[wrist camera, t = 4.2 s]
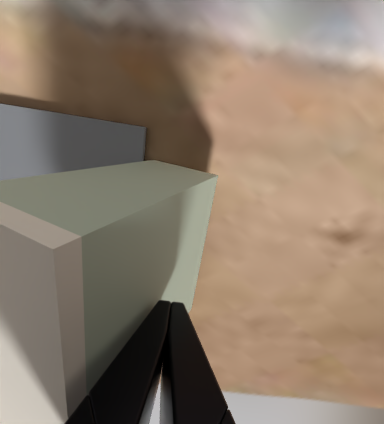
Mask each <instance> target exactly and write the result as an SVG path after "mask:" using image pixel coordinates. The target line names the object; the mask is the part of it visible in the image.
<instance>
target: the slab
mask: <svg viewBox="0 0 384 424" xmlns="http://www.w3.org/2000/svg"><path fill="white" fill-rule="evenodd" d="M217 178H218V175H215V174H211V173H206V172H202V171H198V170H194V169H190V168H186V167H182V166H177V165H173V164H169V163H165V162H161V161H157V160H148V161H141V162H133V163H126V164H119V165H111V166H104V167H97V168H89V169H82V170H75V171H67V172H60V173H53V174H45V175H38V176H31V177H23V178H16V179H9V180H1V181H0V424H64V423H65V422H66V421H67V420H68V418H69V417H70V416H71V415H72V413H73V412H74V411H75V409H76V408H77V407H78V405H79V404H80V403H81V402H82V400H83V399H84V398H85V396H86V395H89V391H90V390H91V389H92V387H93V386H94V385H95V383H96V382H97V381H98V379H99V378H100V377H101V376H102V374H103V373H104V372H105V370H106V369H107V368H108V366H109V365H110V364H111V362H112V361H113V360H114V358H115V357H116V356H117V355H118V353H119V352H120V351H121V349H122V348H123V347H124V345H125V344H126V343H127V341H128V340H129V339H130V337H131V336H132V335H133V334H134V332H135V331H136V330H137V328H138V327H139V326H140V324H141V323H142V322H143V320H144V319H145V318H146V316H147V315H148V314H149V312H150V311H151V310H152V309H153V307H154V306H155V305H156V303H157V302H158V301H159V300H166V301H170V302H171V303H172V302H173V301H174V302H182V303H184V305H185V307H186V310H187V312H188V313H189V311H190V310H191V308H192V303H193V298H194V293H195V288H196V283H197V278H198V273H199V268H200V263H201V258H202V253H203V248H204V243H205V238H206V233H207V228H208V223H209V218H210V213H211V208H212V203H213V198H214V193H215V188H216V183H217Z"/></svg>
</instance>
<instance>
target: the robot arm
mask: <svg viewBox="0 0 384 424" xmlns="http://www.w3.org/2000/svg"><path fill="white" fill-rule="evenodd" d="M162 364H163V365H162ZM161 370H162V373H161ZM160 376H161V396H160V424H235V421H234V419H233V417H232V414H231V412H230V410H227V409H228V406H227V403H226V401H225V399H224V396H223V394H222V391H221V389H220V387H219V384H218V382H217V380H216V377H215V375H214V373H213V370H212V368H211V366H210V363H209V361H208V359H207V356H206V354H205V352H204V349H203V347H202V345H201V342H200V340H199V338H198V335H197V333H196V331H195V328H194V326H193V324H192V321H191V319H190V317H189V314H188V312H187V310H186V307H185V305H184V303H182V302H174V301H173V302H172V303H171V302H170V301H166V300H159V301H158V302H157V303H156V305H155V306H154V307H153V309H152V310H151V311H150V312H149V314H148V315H147V316H146V318H145V319H144V320H143V322H142V323H141V324H140V326H139V327H138V328H137V330H136V331H135V332H134V334H133V335H132V336H131V337H130V339H129V340H128V341H127V343H126V344H125V345H124V347H123V348H122V349H121V351H120V352H119V353H118V355H117V356H116V357H115V358H114V360H113V361H112V362H111V364H110V365H109V366H108V368H107V369H106V370H105V372H104V373H103V374H102V376H101V377H100V378H99V379H98V381H97V382H96V383H95V385H94V386H93V387H92V389H91V390H90V391H89V395H86V396H85V398H84V399H83V400H82V402H81V403H80V404H79V405H78V407H77V408H76V409H75V411H74V412H73V413H72V415H71V416H70V417H69V418H68V420H67V421H66V422H65V423H64V424H149V421H150V417H151V413H152V409H153V405H154V401H155V397H156V393H157V389H158V385H159V380H160Z"/></svg>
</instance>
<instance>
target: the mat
mask: <svg viewBox="0 0 384 424" xmlns="http://www.w3.org/2000/svg"><path fill="white" fill-rule="evenodd" d="M146 128H147V127H142V126H136V125H130V124H124V123H118V122H112V121H106V120H99V119H93V118H87V117H81V116H75V115H69V114H63V113H57V112H51V111H45V110H38V109H32V108H26V107H20V106H14V105H8V104H2V103H0V181H1V180H9V179H16V178H23V177H31V176H38V175H45V174H53V173H60V172H67V171H75V170H82V169H89V168H97V167H104V166H111V165H119V164H126V163H133V162H141V161H144V155H145V141H146Z"/></svg>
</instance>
